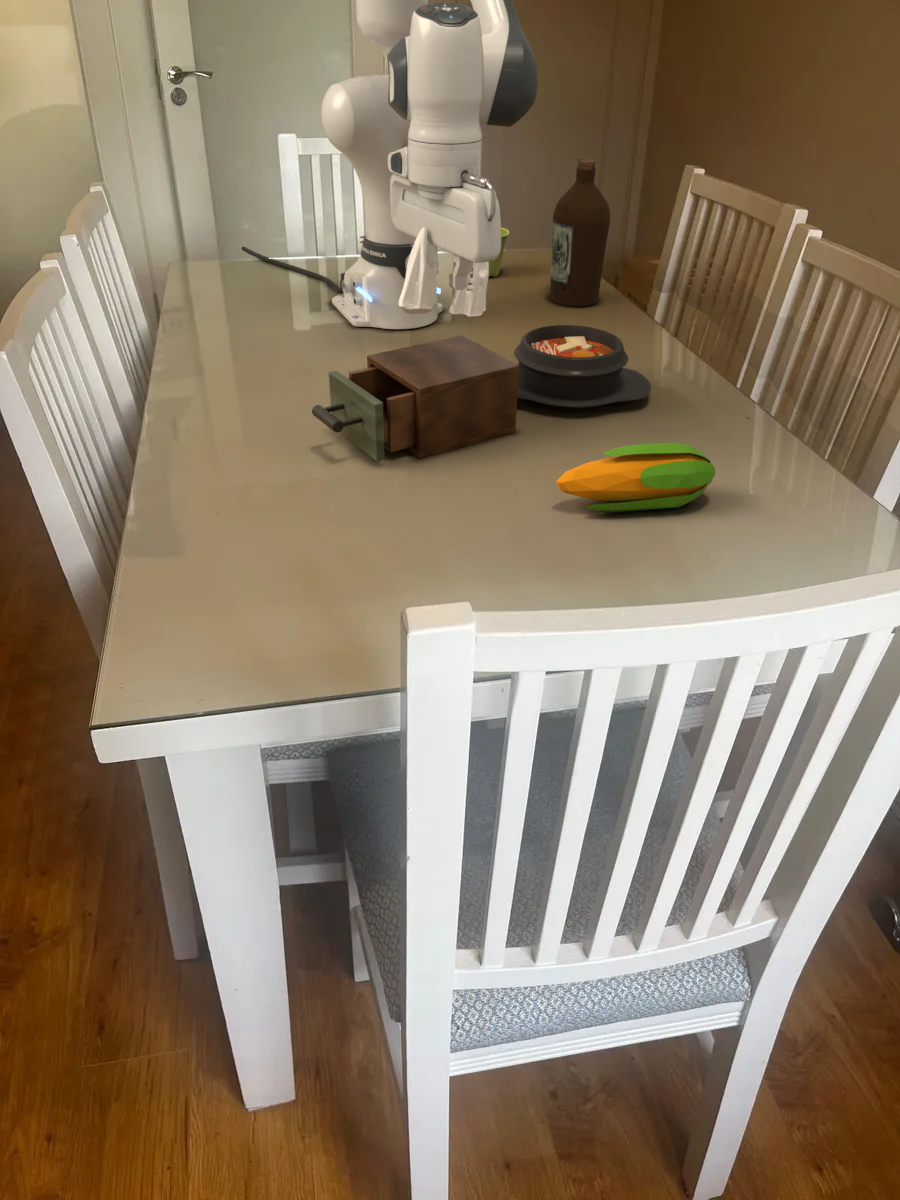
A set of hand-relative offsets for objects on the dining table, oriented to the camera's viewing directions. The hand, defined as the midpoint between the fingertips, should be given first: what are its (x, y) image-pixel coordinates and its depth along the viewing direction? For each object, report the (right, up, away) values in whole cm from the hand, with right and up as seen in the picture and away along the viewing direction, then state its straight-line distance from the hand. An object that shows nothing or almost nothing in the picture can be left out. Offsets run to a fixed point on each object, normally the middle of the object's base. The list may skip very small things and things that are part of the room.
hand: (443, 281), depth 118 cm
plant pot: (+8, +27, +74) cm, 79 cm away
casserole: (+19, -10, +22) cm, 31 cm away
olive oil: (+25, +17, +61) cm, 68 cm away
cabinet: (0, -17, +12) cm, 20 cm away
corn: (+23, -29, -6) cm, 38 cm away
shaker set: (0, -4, +3) cm, 5 cm away
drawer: (-8, -19, +7) cm, 21 cm away
